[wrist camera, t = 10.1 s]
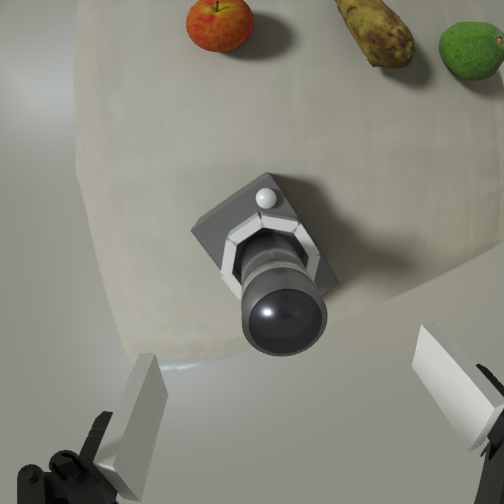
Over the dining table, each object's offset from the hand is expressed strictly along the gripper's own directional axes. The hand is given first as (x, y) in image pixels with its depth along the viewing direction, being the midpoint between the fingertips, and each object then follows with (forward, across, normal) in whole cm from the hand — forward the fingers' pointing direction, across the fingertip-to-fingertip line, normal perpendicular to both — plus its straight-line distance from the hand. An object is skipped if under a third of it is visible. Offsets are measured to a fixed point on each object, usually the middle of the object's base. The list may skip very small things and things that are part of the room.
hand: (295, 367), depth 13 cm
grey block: (+23, 0, 0) cm, 23 cm away
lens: (+17, 0, 0) cm, 17 cm away
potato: (+23, +14, +25) cm, 37 cm away
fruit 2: (+23, +28, +24) cm, 43 cm away
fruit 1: (+23, -3, +25) cm, 34 cm away
